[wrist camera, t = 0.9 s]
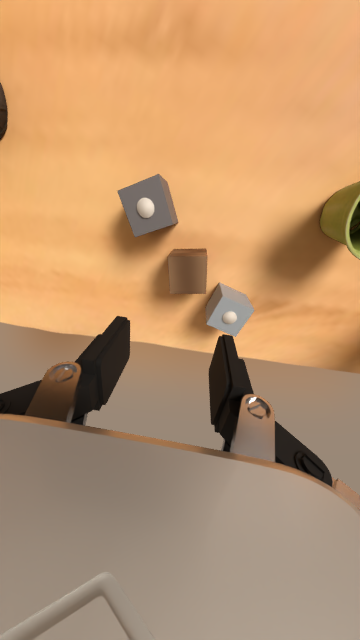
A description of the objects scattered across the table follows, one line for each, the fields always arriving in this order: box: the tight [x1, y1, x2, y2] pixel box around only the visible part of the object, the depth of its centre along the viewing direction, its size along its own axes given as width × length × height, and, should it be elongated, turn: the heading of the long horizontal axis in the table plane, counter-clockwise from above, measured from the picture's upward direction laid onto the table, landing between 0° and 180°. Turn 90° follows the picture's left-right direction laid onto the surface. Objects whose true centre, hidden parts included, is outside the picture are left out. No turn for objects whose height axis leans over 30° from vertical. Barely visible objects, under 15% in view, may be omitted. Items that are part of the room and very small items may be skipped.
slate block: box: [205, 283, 254, 337], centre depth 30 cm, size 5×5×6 cm
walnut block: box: [168, 249, 207, 294], centre depth 28 cm, size 5×5×6 cm
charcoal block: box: [118, 174, 178, 237], centre depth 24 cm, size 5×5×6 cm
